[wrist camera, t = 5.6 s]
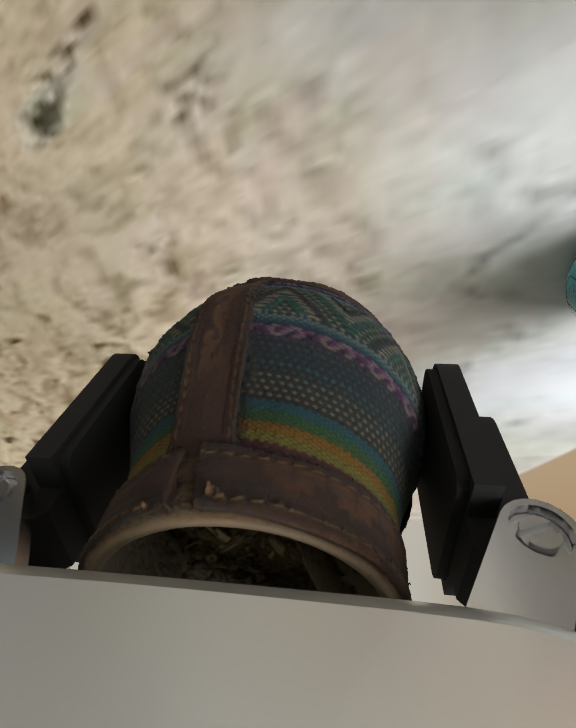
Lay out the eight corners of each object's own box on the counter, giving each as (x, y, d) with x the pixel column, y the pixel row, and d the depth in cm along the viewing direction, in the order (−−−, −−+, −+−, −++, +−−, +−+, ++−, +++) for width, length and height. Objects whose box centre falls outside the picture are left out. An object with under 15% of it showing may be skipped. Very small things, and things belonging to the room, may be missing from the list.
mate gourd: (135, 289, 13) (-246, 657, 5) (390, 204, 11) (517, 600, 3) (233, 461, 16) (112, 852, 8) (441, 422, 14) (568, 897, 6)
